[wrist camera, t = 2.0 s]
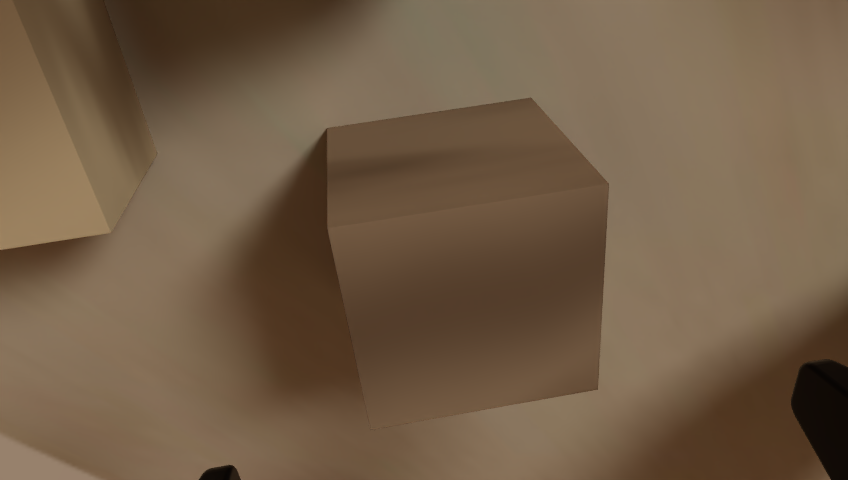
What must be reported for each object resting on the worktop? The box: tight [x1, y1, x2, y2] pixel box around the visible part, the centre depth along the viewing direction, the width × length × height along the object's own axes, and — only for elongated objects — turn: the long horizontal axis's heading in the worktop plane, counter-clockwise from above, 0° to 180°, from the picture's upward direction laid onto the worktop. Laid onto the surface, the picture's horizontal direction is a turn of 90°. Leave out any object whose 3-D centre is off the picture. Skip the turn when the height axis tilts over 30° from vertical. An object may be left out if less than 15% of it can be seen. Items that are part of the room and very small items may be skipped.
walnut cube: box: [327, 98, 609, 430], centre depth 14 cm, size 5×5×5 cm
